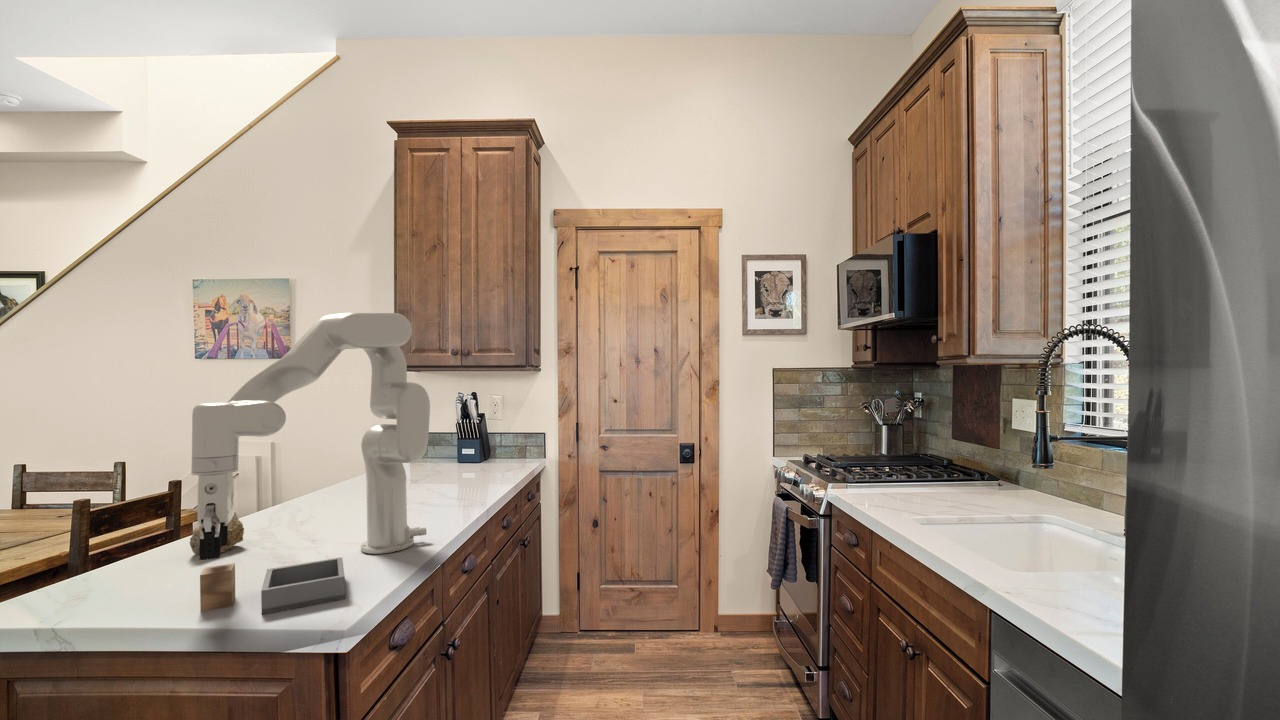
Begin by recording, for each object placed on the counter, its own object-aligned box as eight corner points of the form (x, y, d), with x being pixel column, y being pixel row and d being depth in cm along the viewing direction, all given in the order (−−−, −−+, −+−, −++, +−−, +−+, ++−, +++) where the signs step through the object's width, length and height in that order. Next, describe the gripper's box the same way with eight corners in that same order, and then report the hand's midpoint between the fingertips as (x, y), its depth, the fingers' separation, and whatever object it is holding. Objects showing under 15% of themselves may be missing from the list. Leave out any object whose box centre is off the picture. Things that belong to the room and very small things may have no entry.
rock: (256, 523, 154) (229, 502, 156) (211, 540, 142) (182, 518, 144) (241, 555, 156) (214, 535, 158) (196, 576, 144) (167, 553, 146)
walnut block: (235, 597, 118) (234, 563, 118) (232, 606, 114) (231, 570, 114) (205, 602, 116) (204, 567, 116) (200, 611, 112) (200, 575, 112)
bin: (342, 577, 128) (342, 557, 128) (345, 598, 116) (344, 576, 116) (267, 590, 121) (267, 569, 121) (261, 614, 109) (261, 590, 109)
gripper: (232, 469, 109) (231, 560, 109) (243, 458, 124) (242, 539, 124) (182, 472, 106) (181, 567, 105) (199, 461, 121) (198, 544, 120)
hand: (214, 552), depth 114 cm, fingers open, 9 cm apart
